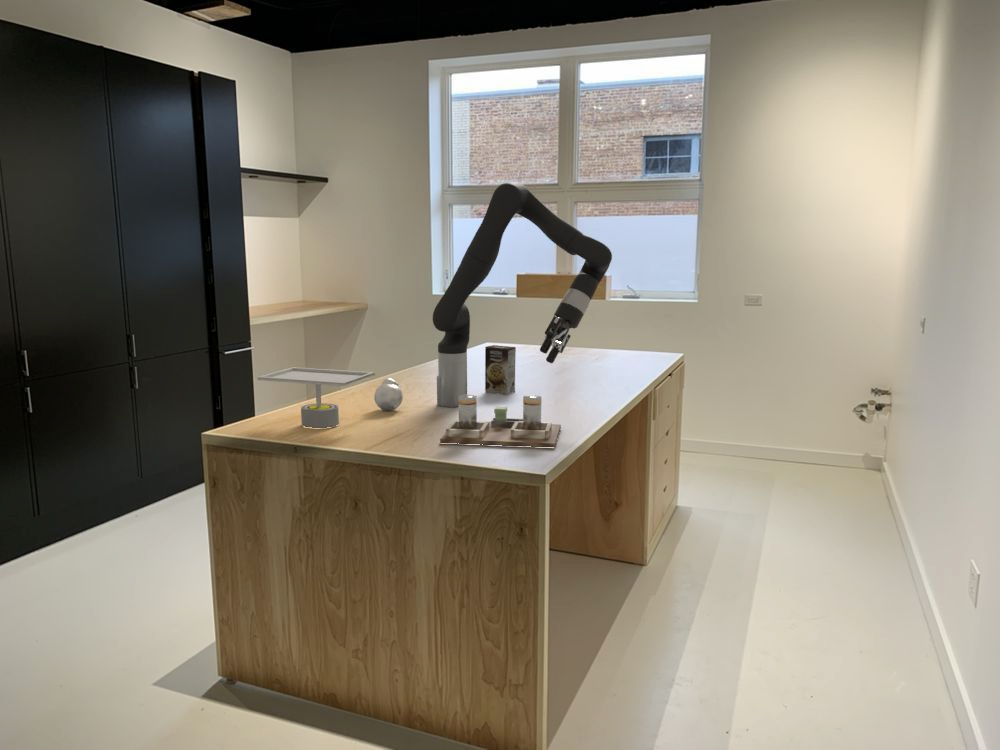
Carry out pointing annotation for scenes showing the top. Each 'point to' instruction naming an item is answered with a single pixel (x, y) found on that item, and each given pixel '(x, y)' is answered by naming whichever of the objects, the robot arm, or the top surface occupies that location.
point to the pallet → (503, 434)
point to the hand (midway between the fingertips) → (545, 357)
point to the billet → (532, 412)
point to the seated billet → (468, 412)
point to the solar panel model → (318, 391)
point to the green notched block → (500, 413)
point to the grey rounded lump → (388, 395)
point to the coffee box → (500, 369)
